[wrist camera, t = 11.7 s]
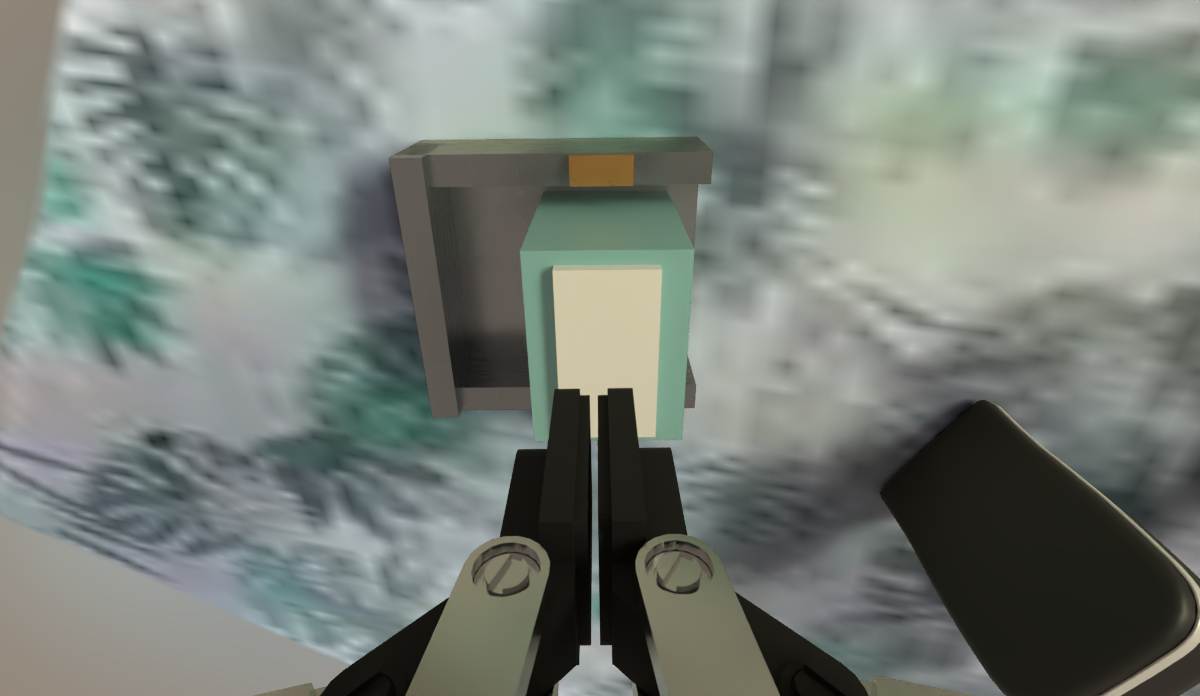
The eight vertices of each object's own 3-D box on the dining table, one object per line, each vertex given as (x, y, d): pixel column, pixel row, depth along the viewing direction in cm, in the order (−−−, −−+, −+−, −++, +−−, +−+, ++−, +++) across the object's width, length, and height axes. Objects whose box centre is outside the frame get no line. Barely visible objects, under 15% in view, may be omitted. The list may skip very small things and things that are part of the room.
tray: (697, 137, 21) (715, 154, 18) (683, 366, 26) (696, 415, 22) (422, 140, 21) (388, 158, 18) (454, 368, 26) (432, 417, 22)
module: (667, 190, 21) (696, 254, 15) (661, 338, 24) (683, 447, 18) (543, 191, 21) (517, 255, 15) (551, 339, 24) (532, 448, 18)
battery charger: (925, 523, 30) (1093, 770, 20) (869, 492, 29) (1016, 734, 19) (1038, 426, 27) (1301, 655, 17) (981, 388, 26) (1222, 606, 16)
